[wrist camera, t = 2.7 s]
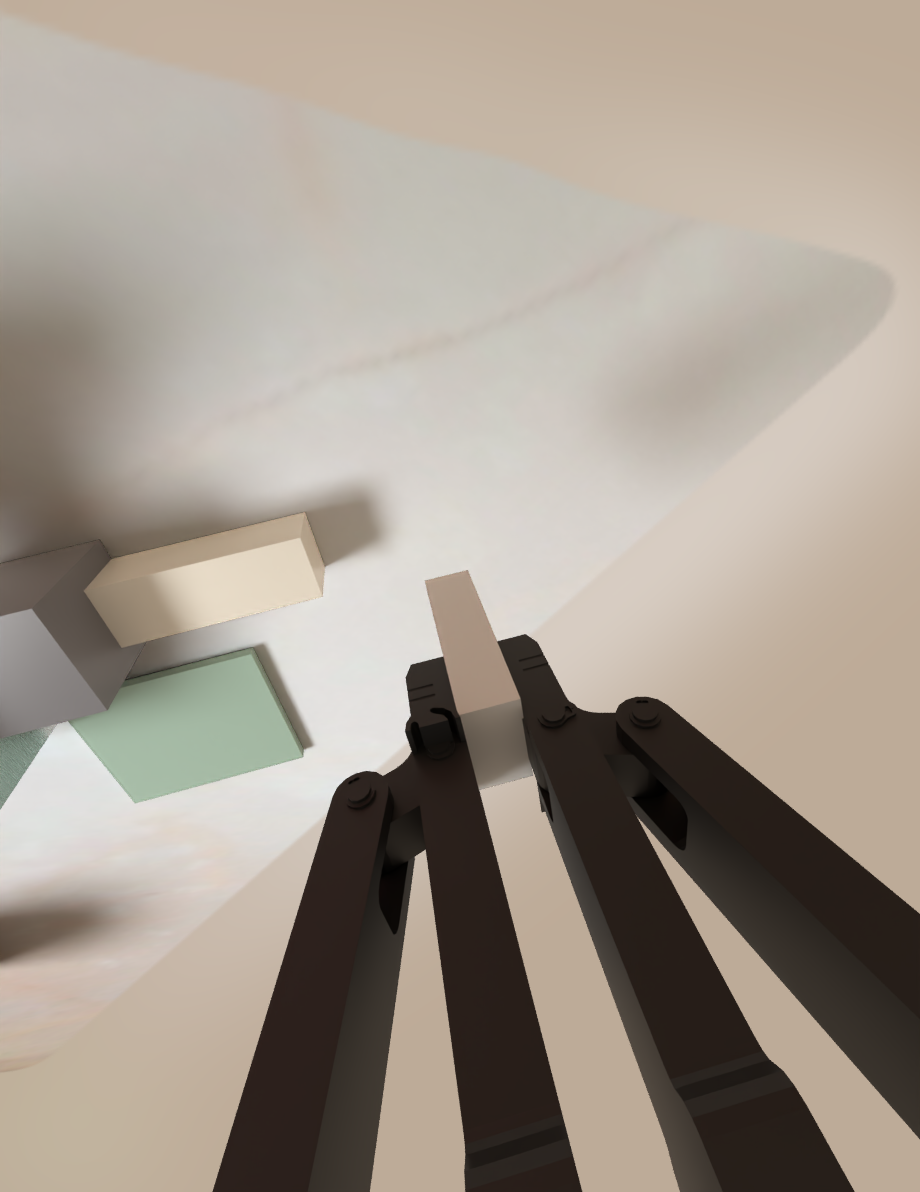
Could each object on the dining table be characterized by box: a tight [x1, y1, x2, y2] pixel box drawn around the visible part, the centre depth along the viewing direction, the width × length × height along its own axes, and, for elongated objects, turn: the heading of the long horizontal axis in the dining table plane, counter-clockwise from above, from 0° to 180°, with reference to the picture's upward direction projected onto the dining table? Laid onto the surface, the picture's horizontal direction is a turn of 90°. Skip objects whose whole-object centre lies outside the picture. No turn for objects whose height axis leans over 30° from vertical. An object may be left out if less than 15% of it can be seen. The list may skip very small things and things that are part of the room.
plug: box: [0, 512, 325, 739], centre depth 22 cm, size 15×5×6 cm, turn 101°
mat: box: [68, 648, 304, 803], centre depth 29 cm, size 10×8×1 cm
